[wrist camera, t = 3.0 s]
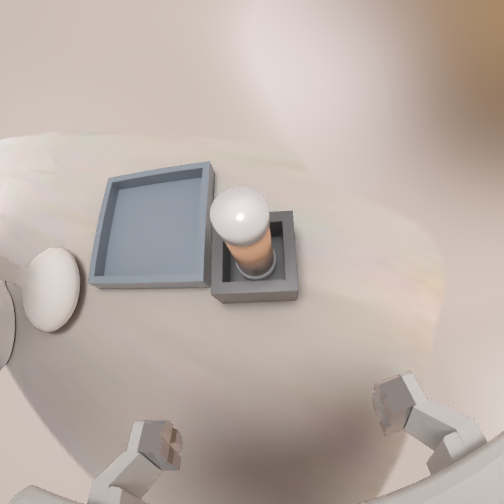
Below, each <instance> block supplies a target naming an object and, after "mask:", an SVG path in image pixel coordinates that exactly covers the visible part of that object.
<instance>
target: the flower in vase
mask: <svg viewBox="0 0 504 504" xmlns="http://www.w3.org/2000/svg"><path fill="white" fill-rule="evenodd" d="M0 279H1V280H5V281H7V282H10V283H12V284H14V285H16V286H18V287H19V288H20V290H21V297H22V303H23V307H24V310H25V312H26V315H27V317H28V319H29V320H30V322H31V323H32V324H33V325H34V326H35V327H37V328H38V329H39V330H41V331H44V332H53V331H55V330H57V329H59V328H60V327H62V326H63V325H64V324H65V323H66V322H67V321H68V320H69V318H70V317H71V315H72V314H73V312H74V309H75V307H76V304H77V301H78V297H79V292H80V274H79V269H78V266H77V263H76V261H75V258H74V257H73V255H72V254H71V253H70V252H69V251H68V250H66V249H64V248H60V247H52V248H48V249H46V250H44V251H42V252H41V253H40V254H38V255H37V256H36V257H35V258H34V259H33V260H32V261H31V262H30V264H29V265H28V266H27V267H21V266H18V265H16V264H14V263H12V262H10V261H8V260H7V259H6V258H4V257H3V256H2V255H1V254H0Z"/></svg>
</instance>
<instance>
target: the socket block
mask: <svg viewBox="0 0 504 504" xmlns="http://www.w3.org/2000/svg"><path fill="white" fill-rule="evenodd" d="M269 214H270V225H269V228H270V234H271V240H272V246H273V249H274V251H275V255H276V269H275V271H274V273H273V274H272V275H271V276H270V277H269V278H268V279H266V280H264V281H250V280H247V279H246V278H244V277H243V276H242V274H241V273H240V271H239V269H238V268H237V265H236V261H235V259H234V257H233V256H232V254H231V252H230V250H229V249H228V247H227V245H226V243H225V242H224V241H223V240H222V239H221V238H220V237H219V235H218V234H217V232H216V230H215V228H214V227H213V234H212V262H211V295H213V296H214V297H215V298H216V299H218V300H219V301H220V302H221V303H244V302H270V301H290V300H297V295H298V278H297V263H296V249H295V235H294V223H293V211H280V212H269Z"/></svg>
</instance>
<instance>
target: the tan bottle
mask: <svg viewBox="0 0 504 504" xmlns="http://www.w3.org/2000/svg"><path fill="white" fill-rule="evenodd" d="M210 220H211V223H212V225H213V227H214V228H215V230H216V232H217V234H218V235H219V237H220V238H221V239H222V240H223V241H224V242H225V243H226V245H227V247H228V249H229V250H230V252H231V254H232V256H233V257H234V259H235V261H236V265H237V268H238V269H239V271H240V273H241V274H242V276H243V277H244V278H246V279H247V280H250V281H264V280H266V279H268V278H269V277H270V276H271V275H272V274H273V273H274V271H275V269H276V255H275V251H274V249H273V246H272V240H271V234H270V228H269V225H270V214H269V207H268V202H267V200H266V198H265V196H264V195H263V194H262V193H261V192H260V191H259V190H257V189H255V188H253V187H250V186H244V185H239V186H233V187H230V188H228V189H226V190H224V191H222V192H221V193H220V194H219V195H218V196H217V197H216V198H215V199H214V201H213V203H212V205H211V208H210Z"/></svg>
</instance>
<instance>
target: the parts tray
mask: <svg viewBox="0 0 504 504" xmlns="http://www.w3.org/2000/svg"><path fill="white" fill-rule="evenodd" d="M214 180H215V173H214V170H213V168H212V165H211V163H210V162H202V163H194V164H187V165H180V166H174V167H167V168H161V169H155V170H149V171H144V172H138V173H133V174H128V175H123V176H118V177H113V178H109V179H108V183H107V187H106V190H105V194H104V198H103V203H102V207H101V211H100V216H99V221H98V225H97V230H96V236H95V241H94V247H93V252H92V259H91V265H90V272H89V280H88V284H91V285H93V286H95V287H98V288H100V289H141V288H196V287H210V268H211V239H212V223H211V220H210V208H211V205H212V203H213V197H214Z"/></svg>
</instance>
